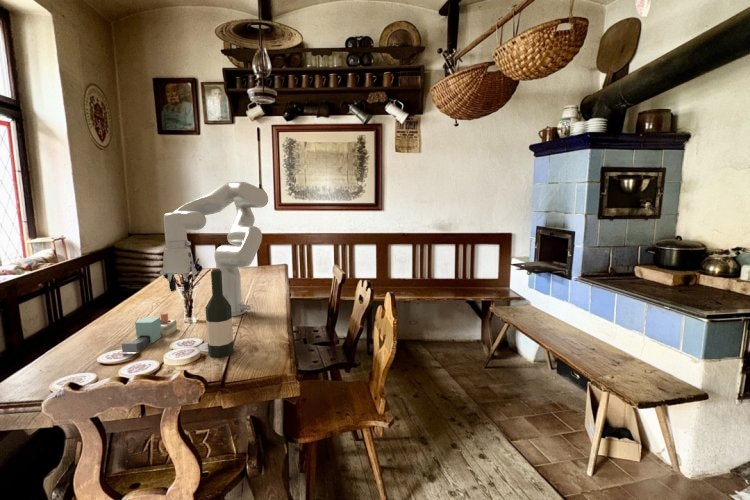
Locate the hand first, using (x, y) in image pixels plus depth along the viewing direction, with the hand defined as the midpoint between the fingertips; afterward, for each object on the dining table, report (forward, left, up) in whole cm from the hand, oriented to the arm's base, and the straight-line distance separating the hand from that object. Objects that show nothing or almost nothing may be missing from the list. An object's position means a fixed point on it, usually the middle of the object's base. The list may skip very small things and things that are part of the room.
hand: (180, 290), depth 159 cm
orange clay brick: (+7, 0, -13) cm, 15 cm away
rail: (+9, +13, -17) cm, 23 cm away
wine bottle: (-22, +21, -18) cm, 35 cm away
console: (+10, 0, -17) cm, 20 cm away
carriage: (+9, +9, -17) cm, 21 cm away
